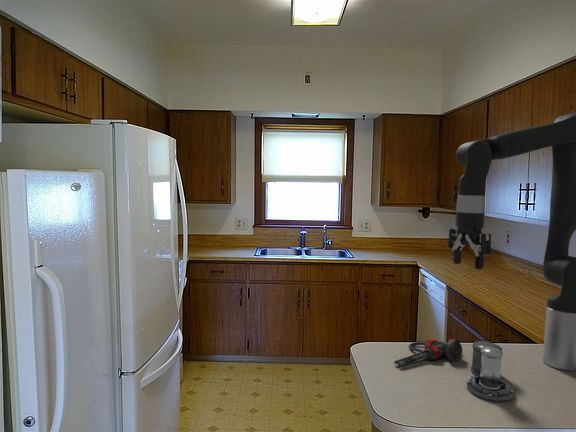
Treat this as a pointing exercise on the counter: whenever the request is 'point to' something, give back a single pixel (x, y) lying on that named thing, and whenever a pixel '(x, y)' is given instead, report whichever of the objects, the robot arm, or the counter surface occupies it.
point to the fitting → (490, 368)
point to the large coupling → (477, 355)
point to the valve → (433, 351)
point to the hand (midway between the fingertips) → (467, 266)
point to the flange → (490, 390)
